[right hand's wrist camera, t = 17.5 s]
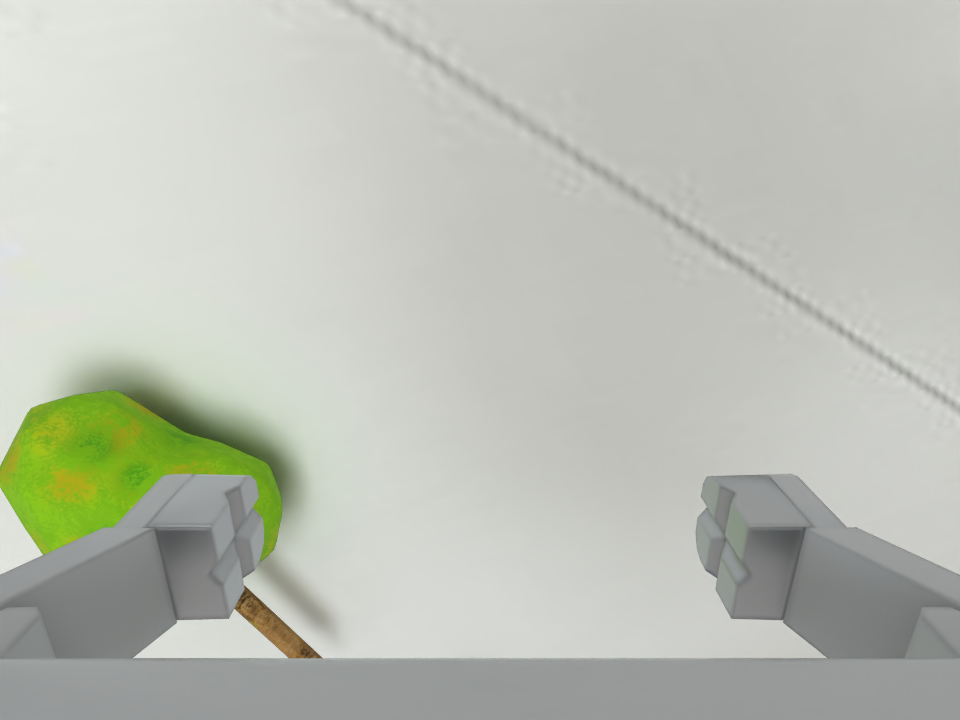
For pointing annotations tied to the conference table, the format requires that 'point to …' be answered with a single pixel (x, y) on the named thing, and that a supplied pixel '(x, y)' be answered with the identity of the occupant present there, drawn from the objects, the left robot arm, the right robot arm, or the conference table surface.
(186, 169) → the conference table surface
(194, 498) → the right robot arm
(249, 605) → the decorative tree
